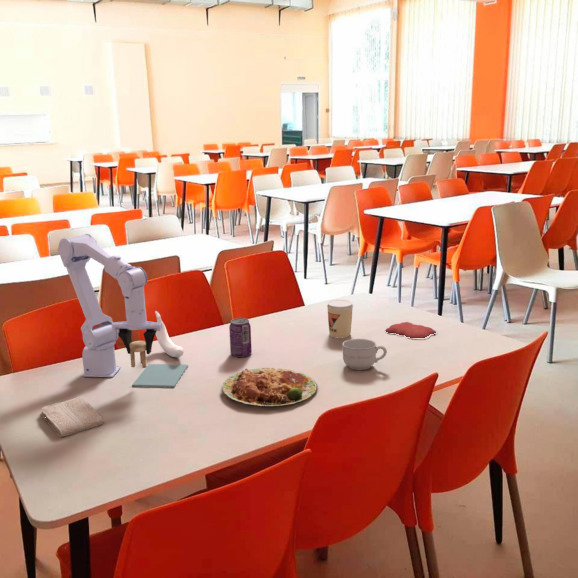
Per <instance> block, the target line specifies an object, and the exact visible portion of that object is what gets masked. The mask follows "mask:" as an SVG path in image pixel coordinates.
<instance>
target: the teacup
mask: <svg viewBox="0 0 578 578" xmlns="http://www.w3.org/2000/svg"><path fill="white" fill-rule="evenodd" d="M341 344H342V359H343V362H344V364H345V365H346V366H348V367H349V368H350V369H351V370H356V371H362V370H368V369H370V368H371V367H372V366H373V365H374V364H376V363H378V362H379V361H380V360H383V359H384V358H386V355H387V353H388V351H387V348H386V347H385V346H384V345H377V342H376V341H373V340H372V339H366V338H352V339H347V340H344V341H343V342H342V343H341ZM378 350H382V351H383V353H382V354H381V355H380V356H378V357H377V354H378V352H379V351H378Z"/></svg>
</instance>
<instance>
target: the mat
mask: <svg viewBox="0 0 578 578" xmlns="http://www.w3.org/2000/svg"><path fill="white" fill-rule="evenodd" d="M188 368H189V364H178V363H177V364H176V363H175V364H173V363H172V364H169V363H166V364H165V363H164V364H163V363H148V364H147V365H146V368H143V369H144V370H143V371H142V372H141V373H140V374H139V375H138V377H137V379H136V380H134V382H133V383H132V387H133V388H134V387H135V388H137V387H138V388H139V387H140V388H141V387H144V388H145V387H147V388H176V386H177V385H178V383H179V382H178V381H180V380H181V379H182V377H183V376H184V374H183V373H185V372H186V371H185V370H187V369H188ZM181 376H182V377H181ZM176 384H177V385H176Z"/></svg>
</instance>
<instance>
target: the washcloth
mask: <svg viewBox="0 0 578 578" xmlns="http://www.w3.org/2000/svg"><path fill="white" fill-rule="evenodd" d="M41 414H42V417H43V416H44V417H46V418H45V419H44V420H45V422H46V421H47V422H48V423H47V422H46V423H47V424H48V425H49V427H50V428H51V429H52V430H53V431H54V433H56V435H57V436H58V437H59V438H64V437H67V436H70V435H74V434H75V433H78V432H82V431H87V430H89V429H92V428H95V427H98V426H99V427H100V426H101V425H103V424H104V423H105V422H104V419H103V417H102V416H101V415H100V414H99V413H98V412H97V411H96V410H95V409H94V408H93V407H92V406H91V405H90V404H89V403H88V402H87V401H86V400H85V399H84V398H83V396H82V397H81V396H78V397H74V398H72V399H69V400H66V401H62V402H55V403H52V404H49V405H45V406H43V407H42V408H41ZM44 417H43V418H44Z"/></svg>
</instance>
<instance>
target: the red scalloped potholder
mask: <svg viewBox="0 0 578 578" xmlns="http://www.w3.org/2000/svg"><path fill="white" fill-rule="evenodd" d="M385 331H386V332H388V333H396V334H399V335H405V336H406V337H410V338H425V337H427V336H429V335H430V334H434V333H436V332H437V331H436V330H435V329H433V328H431V327H428V326H425V325H421V324H414V323H412V322H409V321H405V322H400V323H395V324H392V325H390V326H389V327H387V328H386V329H385V330H384V332H385ZM386 332H385V333H386ZM388 333H387V334H388ZM396 334H395V335H396ZM406 337H405V338H406Z"/></svg>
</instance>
